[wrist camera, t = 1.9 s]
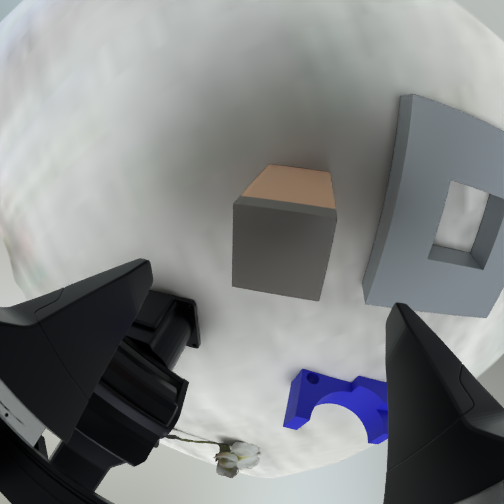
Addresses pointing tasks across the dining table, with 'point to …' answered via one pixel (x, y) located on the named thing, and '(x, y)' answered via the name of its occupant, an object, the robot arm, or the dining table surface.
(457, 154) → the socket plate
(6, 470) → the robot arm
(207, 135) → the dining table surface
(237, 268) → the tan upright block
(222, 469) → the artificial flower
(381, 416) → the cable clip
